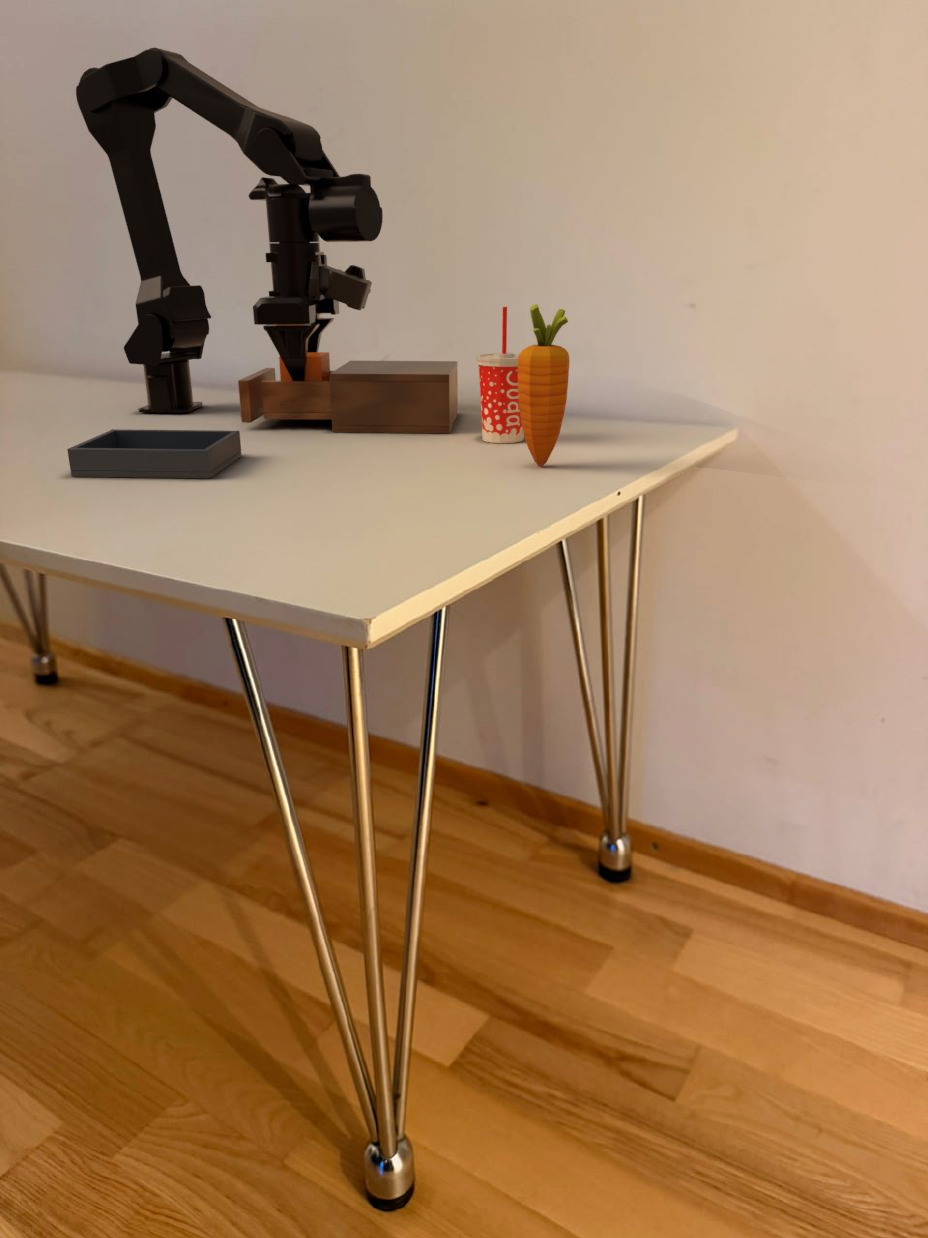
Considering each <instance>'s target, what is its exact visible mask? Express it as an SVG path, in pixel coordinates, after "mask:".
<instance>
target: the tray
mask: <svg viewBox="0 0 928 1238" xmlns="http://www.w3.org/2000/svg"><path fill="white" fill-rule="evenodd" d="M241 445H242V444H241V433H240V430H202V429H198V430H197V429H194V430H193V429H117V428H115V429H109V430H108V431H106V432H104V433H101V434H99V435H96V436H94V437H92V438H90V439H87V440H85V441H83V442H80V443H78V444H75V445H73V446H71V447H69V448H67V449H66V451H67V456H68V463H69V470H70V476H71V477H73V478H75V477H77V478H137V479H139V478H141V479H142V478H147V479H150V478H151V479H153V478H154V479H212V478H214V477H215V476H216V475H218V474H219V473H220V472H222V471H223V470H225V469H226V468H227V467H229V466H230V465H231V464H233V463H234V462H236V461H238V459H240V458H241V457H242V456H243V455H242V446H241Z"/></svg>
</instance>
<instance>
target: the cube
mask: <svg viewBox="0 0 928 1238" xmlns="http://www.w3.org/2000/svg"><path fill="white" fill-rule="evenodd" d="M278 362H279V377H280V381H293V380H292V378H291V376H290V374H289V372H288V371H287V369H286V367H285V365H284V363H283V361H282V359H281V357H280V355H279V356H278ZM330 363H331V362H330V351H329V352H328V351H327V352H325V351H324V352H323V351H322V352H320V351H318V352H307V362H306V374H305V381H330V377H329V374H330V371H331V364H330Z"/></svg>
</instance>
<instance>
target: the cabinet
mask: <svg viewBox="0 0 928 1238" xmlns="http://www.w3.org/2000/svg"><path fill="white" fill-rule="evenodd" d="M458 364H459V363H458V361H457V360H349V361H347V362H345V363H344V364H343V365H340V366H339V367H338V368H336V369H334V370H332V371H333V372H331V373H330V374H329V377H330V396H331V416H332V420H331V432H332V433H363V434H364V433H369V434H371V433H374V434H375V433H376V434H379V433H380V434H386V433H387V434H450V433H451V431H452V428H453V426H454V424H455V422H456V419H457V417H458V412H459V408H458V407H459V405H458V403H459V402H458V400H459V399H458V392H459V390H458V385H459V382H458V377H459V376H458V372H459V371H458Z"/></svg>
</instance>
